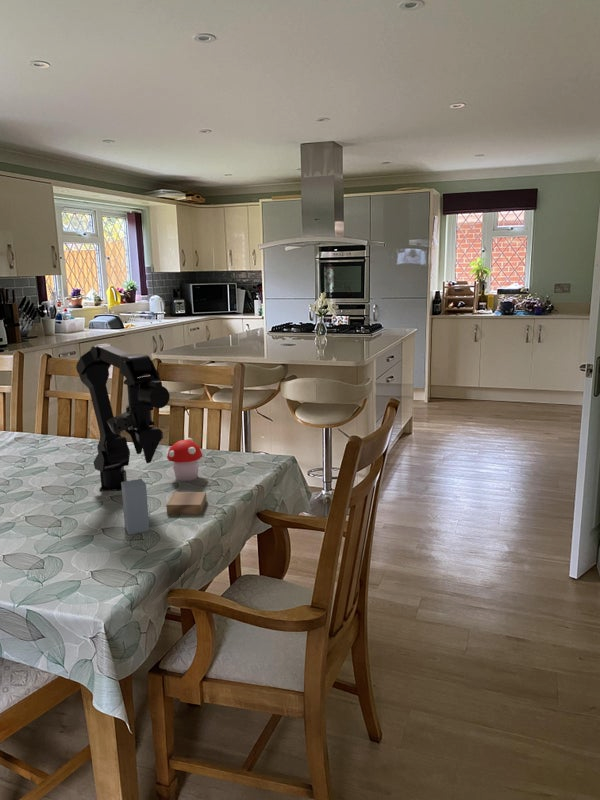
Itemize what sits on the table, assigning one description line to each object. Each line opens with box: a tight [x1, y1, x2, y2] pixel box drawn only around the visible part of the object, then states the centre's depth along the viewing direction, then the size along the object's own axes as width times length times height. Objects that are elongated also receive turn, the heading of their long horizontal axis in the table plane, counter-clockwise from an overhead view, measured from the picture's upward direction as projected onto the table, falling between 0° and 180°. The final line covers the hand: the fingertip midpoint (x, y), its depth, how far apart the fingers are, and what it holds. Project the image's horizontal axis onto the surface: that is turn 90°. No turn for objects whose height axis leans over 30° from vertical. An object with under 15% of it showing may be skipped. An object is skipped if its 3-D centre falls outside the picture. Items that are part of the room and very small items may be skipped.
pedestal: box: [166, 491, 207, 515], centre depth 162 cm, size 9×9×3 cm
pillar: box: [121, 478, 150, 536], centre depth 147 cm, size 5×5×12 cm
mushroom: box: [166, 437, 203, 482], centre depth 184 cm, size 11×11×12 cm
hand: (143, 458), depth 162 cm, fingers open, 9 cm apart
